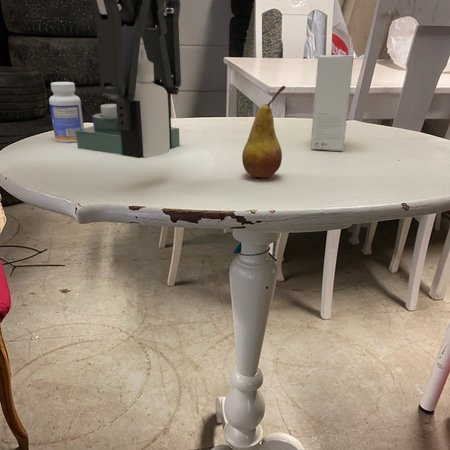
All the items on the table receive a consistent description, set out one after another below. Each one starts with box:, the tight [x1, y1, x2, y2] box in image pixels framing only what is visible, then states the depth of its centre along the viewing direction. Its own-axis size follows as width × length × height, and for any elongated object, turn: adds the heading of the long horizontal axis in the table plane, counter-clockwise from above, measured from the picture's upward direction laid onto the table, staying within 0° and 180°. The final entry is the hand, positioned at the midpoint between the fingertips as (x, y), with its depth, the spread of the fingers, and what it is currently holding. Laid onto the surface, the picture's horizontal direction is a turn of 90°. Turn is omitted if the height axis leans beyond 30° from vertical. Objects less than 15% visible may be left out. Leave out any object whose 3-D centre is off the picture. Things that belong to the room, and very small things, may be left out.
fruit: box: [241, 85, 286, 179], centre depth 64 cm, size 6×6×12 cm
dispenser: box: [76, 112, 181, 159], centre depth 81 cm, size 14×11×5 cm
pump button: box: [100, 103, 117, 118], centre depth 81 cm, size 4×4×2 cm
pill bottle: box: [48, 81, 85, 144], centre depth 85 cm, size 5×5×10 cm
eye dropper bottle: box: [134, 49, 171, 158], centre depth 58 cm, size 4×6×12 cm
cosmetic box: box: [310, 54, 355, 152], centre depth 82 cm, size 8×6×15 cm
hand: (147, 150), depth 61 cm, fingers closed on eye dropper bottle, 6 cm apart
